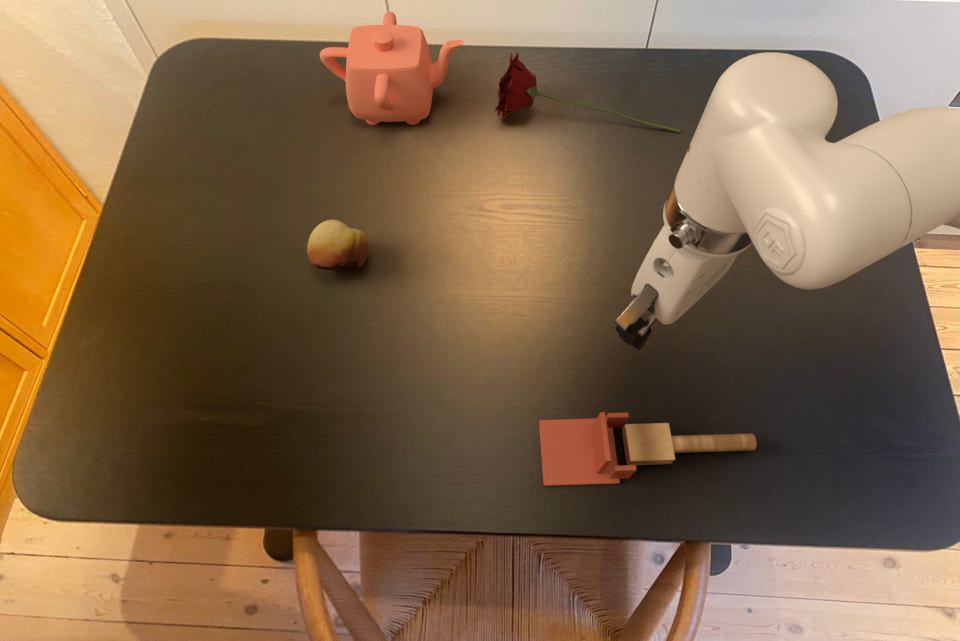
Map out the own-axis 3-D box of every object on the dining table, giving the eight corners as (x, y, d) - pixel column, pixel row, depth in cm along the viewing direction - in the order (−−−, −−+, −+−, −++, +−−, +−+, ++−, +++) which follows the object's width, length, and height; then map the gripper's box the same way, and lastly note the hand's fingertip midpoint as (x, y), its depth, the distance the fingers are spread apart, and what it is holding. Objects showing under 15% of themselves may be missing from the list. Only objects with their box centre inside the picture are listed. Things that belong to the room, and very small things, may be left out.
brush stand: (620, 418, 75) (631, 401, 69) (629, 483, 72) (642, 470, 66) (538, 421, 75) (543, 403, 69) (543, 486, 72) (548, 473, 66)
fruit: (382, 270, 85) (372, 237, 78) (328, 297, 84) (314, 266, 76) (358, 232, 88) (347, 198, 81) (306, 257, 86) (290, 224, 79)
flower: (695, 132, 90) (500, 81, 87) (663, 178, 99) (486, 132, 97) (695, 82, 95) (510, 31, 92) (665, 129, 104) (496, 84, 102)
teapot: (328, 106, 100) (307, 37, 88) (397, 57, 105) (386, -15, 93) (398, 158, 95) (385, 93, 83) (467, 104, 100) (464, 35, 88)
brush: (743, 427, 74) (753, 420, 71) (752, 463, 72) (762, 457, 69) (620, 431, 74) (625, 423, 71) (625, 467, 72) (630, 461, 69)
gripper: (683, 304, 44) (632, 388, 59) (819, 177, 49) (739, 284, 64) (606, 241, 46) (576, 337, 61) (742, 126, 51) (683, 241, 67)
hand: (659, 310), depth 63 cm, fingers open, 9 cm apart
